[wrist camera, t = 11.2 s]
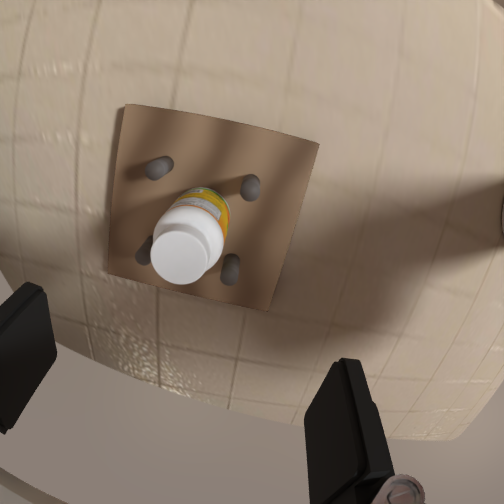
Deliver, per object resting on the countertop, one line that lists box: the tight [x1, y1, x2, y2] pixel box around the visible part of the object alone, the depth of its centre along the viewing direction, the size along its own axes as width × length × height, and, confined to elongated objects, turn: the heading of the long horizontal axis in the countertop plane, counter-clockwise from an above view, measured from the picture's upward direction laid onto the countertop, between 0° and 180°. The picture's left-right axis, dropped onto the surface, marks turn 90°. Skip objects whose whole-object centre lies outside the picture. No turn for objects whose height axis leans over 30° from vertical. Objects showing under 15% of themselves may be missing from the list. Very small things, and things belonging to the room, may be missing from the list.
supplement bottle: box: [150, 187, 230, 284], centre depth 25 cm, size 5×5×10 cm
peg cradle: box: [108, 104, 320, 312], centre depth 29 cm, size 18×18×5 cm
